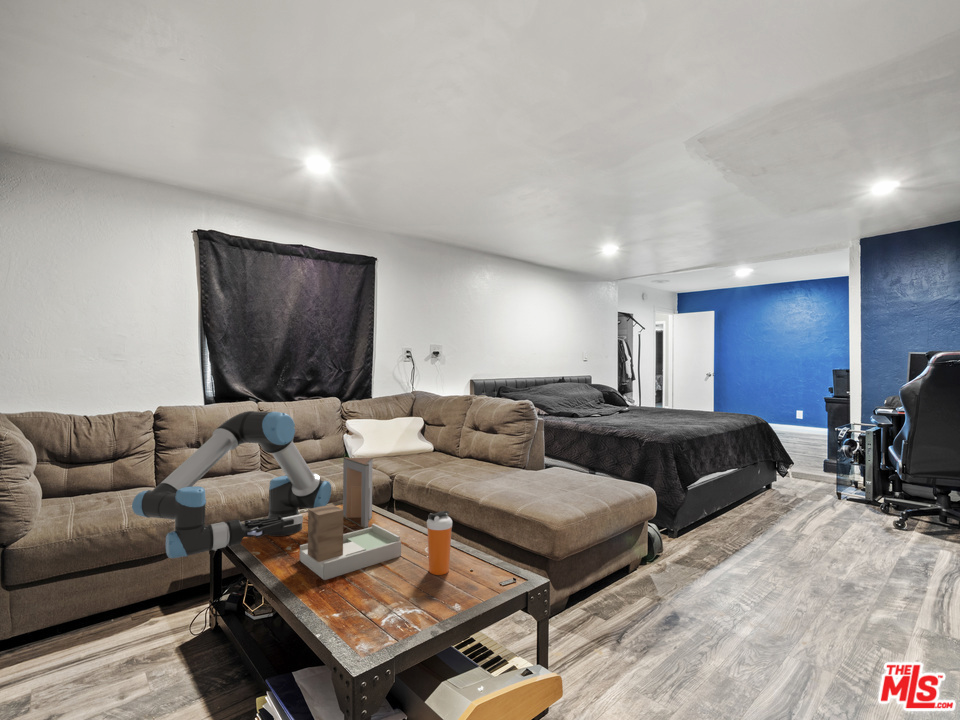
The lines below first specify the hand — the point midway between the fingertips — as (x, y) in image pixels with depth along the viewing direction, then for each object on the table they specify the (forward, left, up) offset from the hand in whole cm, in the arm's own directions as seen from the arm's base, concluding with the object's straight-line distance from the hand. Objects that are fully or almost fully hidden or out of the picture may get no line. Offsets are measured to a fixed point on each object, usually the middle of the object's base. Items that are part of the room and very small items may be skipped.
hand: (301, 518), depth 161 cm
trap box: (0, +19, -19) cm, 26 cm away
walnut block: (0, +9, -15) cm, 17 cm away
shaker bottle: (+30, +37, -19) cm, 51 cm away
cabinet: (-35, +43, -19) cm, 59 cm away
